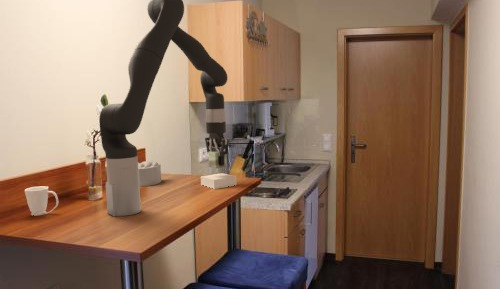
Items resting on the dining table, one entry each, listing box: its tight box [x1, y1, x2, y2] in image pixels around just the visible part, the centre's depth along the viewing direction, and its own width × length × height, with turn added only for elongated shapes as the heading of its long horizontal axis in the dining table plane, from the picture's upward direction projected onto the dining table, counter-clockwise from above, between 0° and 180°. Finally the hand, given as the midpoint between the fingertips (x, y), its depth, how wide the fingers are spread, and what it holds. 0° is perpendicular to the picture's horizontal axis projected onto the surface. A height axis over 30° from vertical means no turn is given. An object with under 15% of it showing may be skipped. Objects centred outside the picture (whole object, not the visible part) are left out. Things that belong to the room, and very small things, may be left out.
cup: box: [24, 185, 59, 217], centre depth 139 cm, size 7×10×8 cm
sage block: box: [207, 150, 228, 169], centre depth 174 cm, size 5×5×6 cm
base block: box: [200, 172, 237, 190], centre depth 175 cm, size 10×10×4 cm
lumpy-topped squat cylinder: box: [138, 160, 162, 187], centre depth 185 cm, size 10×13×9 cm
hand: (217, 164), depth 174 cm, fingers closed on sage block, 5 cm apart
